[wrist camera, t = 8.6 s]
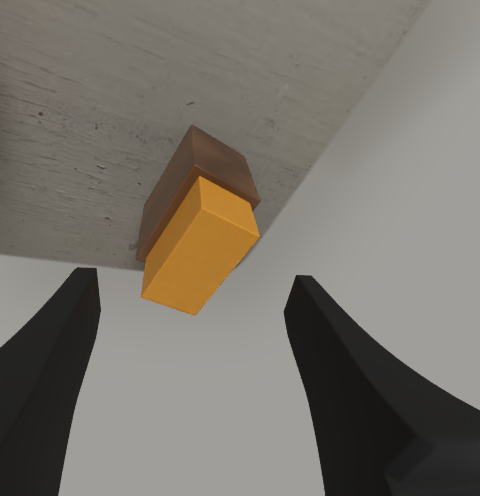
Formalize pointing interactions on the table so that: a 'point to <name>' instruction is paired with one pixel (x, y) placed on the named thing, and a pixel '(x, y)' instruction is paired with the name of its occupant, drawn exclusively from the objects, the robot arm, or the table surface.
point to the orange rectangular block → (199, 247)
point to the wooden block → (184, 176)
